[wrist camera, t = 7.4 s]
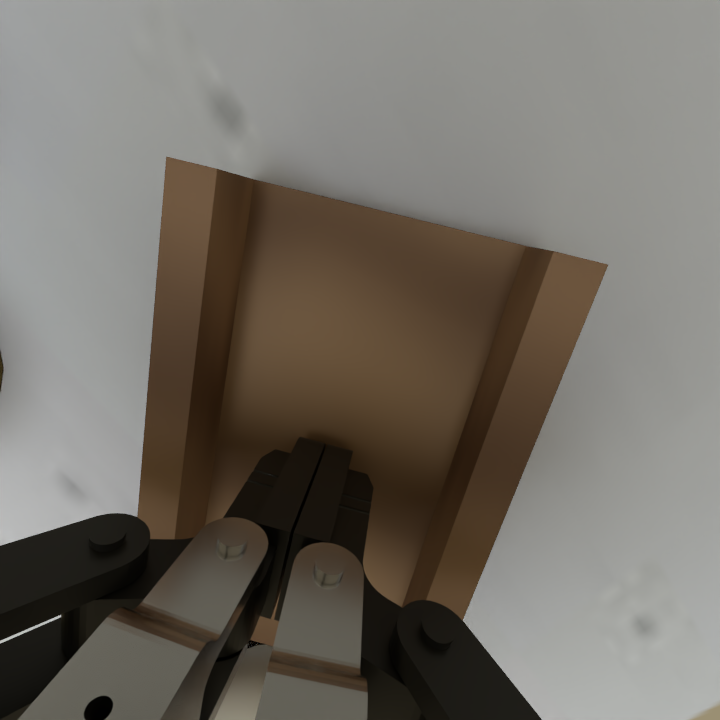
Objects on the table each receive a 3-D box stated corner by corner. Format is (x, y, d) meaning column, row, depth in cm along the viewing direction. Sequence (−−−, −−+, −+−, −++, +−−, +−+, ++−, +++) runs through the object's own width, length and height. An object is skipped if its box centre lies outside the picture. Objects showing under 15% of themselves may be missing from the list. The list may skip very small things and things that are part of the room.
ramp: (249, 179, 12) (166, 156, 8) (540, 250, 12) (608, 264, 8) (176, 701, 19) (111, 833, 15) (360, 755, 19) (345, 905, 15)
